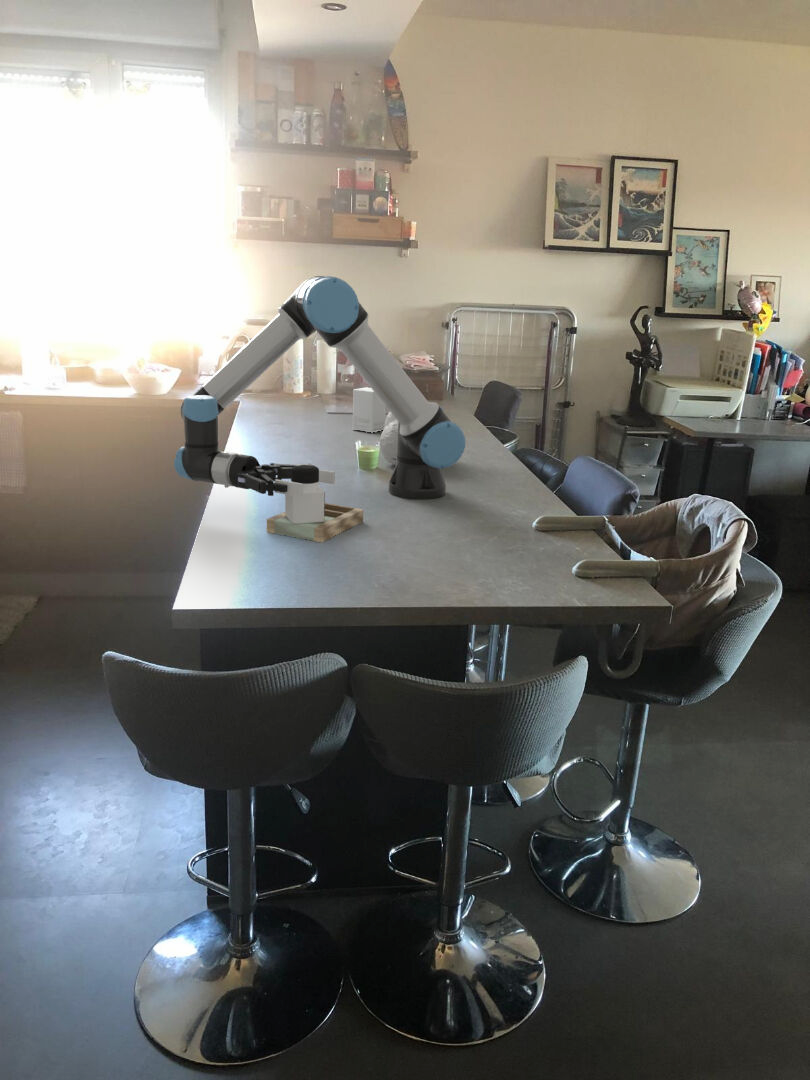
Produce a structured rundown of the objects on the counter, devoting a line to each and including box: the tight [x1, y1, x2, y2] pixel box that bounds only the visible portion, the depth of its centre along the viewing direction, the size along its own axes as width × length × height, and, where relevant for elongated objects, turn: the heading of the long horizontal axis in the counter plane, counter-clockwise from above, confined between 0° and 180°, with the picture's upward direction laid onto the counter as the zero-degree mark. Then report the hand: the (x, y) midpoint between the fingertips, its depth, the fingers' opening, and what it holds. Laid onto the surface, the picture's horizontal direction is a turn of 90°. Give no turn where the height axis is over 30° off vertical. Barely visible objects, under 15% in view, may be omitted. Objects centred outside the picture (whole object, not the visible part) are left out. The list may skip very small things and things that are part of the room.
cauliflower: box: [378, 411, 398, 466], centre depth 264 cm, size 20×25×22 cm
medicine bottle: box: [284, 463, 326, 524], centre depth 190 cm, size 7×7×12 cm
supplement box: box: [352, 386, 387, 431], centre depth 313 cm, size 9×9×15 cm
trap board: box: [266, 502, 364, 543], centre depth 196 cm, size 19×14×3 cm
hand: (318, 483), depth 188 cm, fingers open, 13 cm apart
